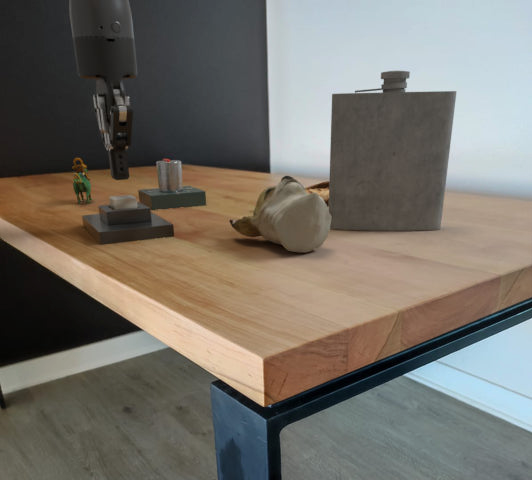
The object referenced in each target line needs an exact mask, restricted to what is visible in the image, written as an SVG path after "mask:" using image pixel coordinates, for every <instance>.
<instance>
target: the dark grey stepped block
mask: <svg viewBox="0 0 532 480" xmlns="http://www.w3.org/2000/svg"><path fill="white" fill-rule="evenodd" d="M137 206H138V208H130V209H119V210H112V209H111V208H110V204H103V205H98V206H97V209H98V213H93V214H84V215H81V219H82V226H83V227H84V229H85V230H86V231H87V232H88V233H89V234H90V236H92V237H93V238H94V239H95V240H96V241H97V242H98V244H100V246H101V245H102V246H104V245H111V244H121V243H130V242H138V240H139V241H147V240H148V241H149V240H154V239H155V238H157V239H164V238H163V237H165V238H173V237H172V236H174V237H175V228H174V224H173V223H172V222H170V221H168V220H166V219H164V218H163V217H161V216H159V215H158V214H156V213H154V212H153V211H152V210H151V209H150V208H149V207H147V206H146V205H144V204H142V203H140V202H139V201H137ZM155 240H156V239H155Z"/></svg>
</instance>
